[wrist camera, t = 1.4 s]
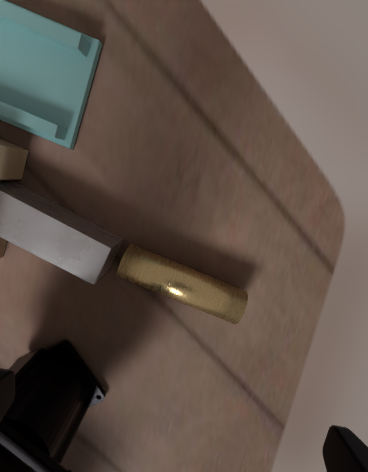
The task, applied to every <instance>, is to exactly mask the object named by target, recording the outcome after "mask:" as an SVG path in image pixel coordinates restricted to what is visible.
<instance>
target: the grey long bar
mask: <svg viewBox="0 0 368 472" xmlns="http://www.w3.org/2000/svg"><path fill="white" fill-rule="evenodd" d="M0 237H1V238H3V239H5V240H7V241H9V242H11V243H13V244H15V245H17V246H19V247H21V248H23V249H25V250H27V251H29V252H30V253H32V254H34V255H36V256H38V257H40V258H42V259H44V260H46V261H48V262H50V263H52V264H54V265H56V266H58V267H60V268H62V269H64V270H66V271H68V272H69V273H71V274H73V275H75V276H77V277H79V278H81V279H83V280H85V281H87V282H89V283H91V284H93V285H94V284H95V283H96V282H97V281H98V280H99V279H100V278H101V277H102V276H103V275H104V274H105V273H106V272H107V271H108V270H109V268H110V266H111V264H112V262H113V260H114V258H115V255H116V253H117V251H118V249H119V247H120V245H121V243H122V241H123V238H121V237H119V236H117V235H115V234H113V233H111V232H110V231H108V230H106V229H104V228H102V227H100V226H98V225H96V224H94V223H92V222H91V221H89V220H87V219H85V218H83V217H81V216H79V215H77V214H75V213H73V212H71V211H70V210H68V209H66V208H64V207H62V206H60V205H58V204H56V203H54V202H52V201H51V200H49V199H47V198H45V197H43V196H41V195H39V194H37V193H35V192H33V191H31V190H30V189H28V188H26V187H24V186H22V185H20V184H18V183H16V182H14V181H12V180H11V179H5V180H0Z"/></svg>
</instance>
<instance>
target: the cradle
mask: <svg viewBox="0 0 368 472" xmlns="http://www.w3.org/2000/svg"><path fill="white" fill-rule="evenodd" d="M101 48H102V43H101V42H100V41H99V40H97V39H95V38H92V37H90V36H88V35H85V34H83V33H81V32H78V31H76V30H74V29H71V28H69V27H67V26H65V25H62V24H60V23H58V22H55V21H53V20H51V19H48V18H46V17H44V16H41V15H39V14H37V13H34V12H32V11H30V10H27V9H25V8H23V7H20V6H18V5H16V4H13V3H11V2H9V1H6V0H0V120H2V121H4V122H7V123H9V124H12V125H14V126H16V127H19V128H21V129H24V130H26V131H28V132H31V133H33V134H36V135H38V136H40V137H43V138H45V139H47V140H50V141H52V142H55V143H57V144H59V145H62V146H64V147H67V148H69V149H73V148H74V144H75V141H76V137H77V134H78V130H79V126H80V123H81V119H82V116H83V112H84V109H85V105H86V101H87V98H88V94H89V91H90V87H91V84H92V80H93V76H94V73H95V69H96V66H97V62H98V59H99V55H100V51H101Z"/></svg>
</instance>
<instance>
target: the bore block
mask: <svg viewBox="0 0 368 472" xmlns="http://www.w3.org/2000/svg"><path fill="white" fill-rule="evenodd" d="M28 151H29V150H26V149H24V148H21V147H19V146H17V145H14V144H12V143H9V142H7V141H5V140H2V139H0V180H5V179H22V176H23V172H24V168H25V163H26V159H27V155H28ZM6 243H7V240H5V239H3V238H1V237H0V258H1V257H3V256H4V252H5V248H6Z"/></svg>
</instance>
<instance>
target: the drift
mask: <svg viewBox="0 0 368 472" xmlns="http://www.w3.org/2000/svg"><path fill="white" fill-rule="evenodd" d="M117 276H118V277H120V278H123V279H125V280H128V281H130V282H132V283H135V284H137V285H140V286H142V287H145V288H147V289H150V290H152V291H154V292H157V293H159V294H162V295H164V296H167V297H169V298H171V299H174V300H176V301H179V302H181V303H184V304H186V305H189V306H191V307H193V308H196V309H198V310H201V311H203V312H206V313H208V314H211V315H213V316H215V317H218V318H220V319H223V320H225V321H228V322H230V323H233V324H237V323H238V322H239V321H240V319H241V318H242V316H243V314H244V311H245V309H246V305H247V300H248V294H247V292H246V291H245V290H242V289H240V288H237V287H235V286H232V285H230V284H228V283H225V282H223V281H220V280H218V279H215V278H213V277H211V276H208V275H206V274H203V273H201V272H198V271H196V270H194V269H191V268H189V267H186V266H184V265H182V264H179V263H177V262H174V261H172V260H169V259H167V258H165V257H162V256H160V255H157V254H155V253H152V252H150V251H148V250H145V249H143V248H140V247H138V246H135V245H133V244H130V245H129V246H128V248H127V249H126V251H125V253H124V255H123V257H122V259H121V262H120V264H119V267H118V270H117Z"/></svg>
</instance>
